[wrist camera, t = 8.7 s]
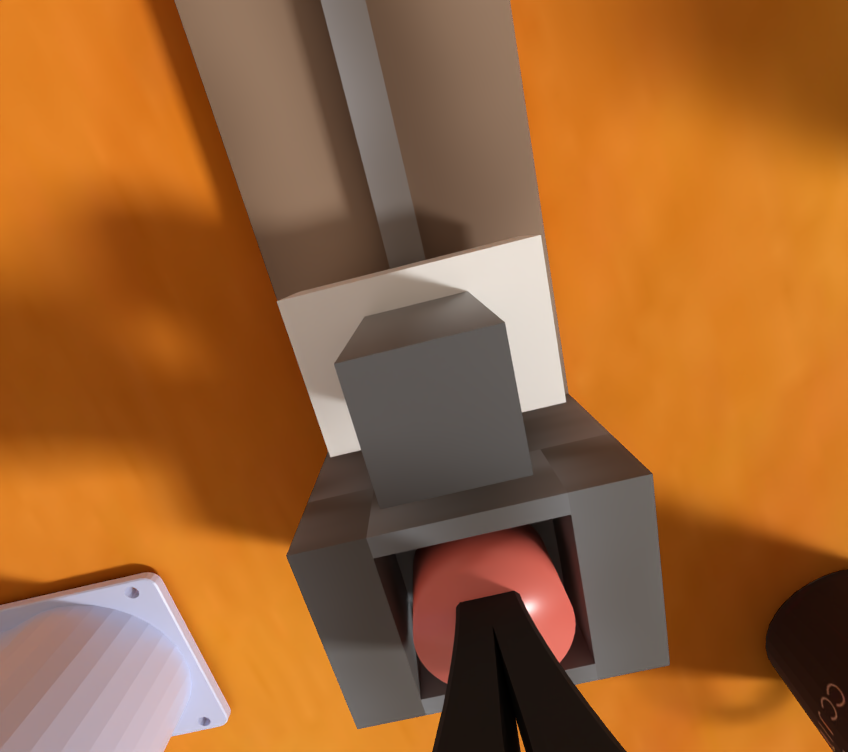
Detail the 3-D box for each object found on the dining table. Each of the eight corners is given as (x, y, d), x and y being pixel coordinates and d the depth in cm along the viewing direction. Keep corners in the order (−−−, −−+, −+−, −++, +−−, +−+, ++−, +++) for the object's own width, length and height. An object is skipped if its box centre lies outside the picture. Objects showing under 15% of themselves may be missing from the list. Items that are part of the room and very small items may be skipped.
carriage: (342, 425, 13) (285, 575, 7) (299, 292, 11) (186, 339, 6) (542, 377, 12) (655, 493, 7) (518, 236, 11) (631, 227, 5)
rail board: (366, 563, 17) (343, 731, 11) (148, -69, 11) (-150, -425, 5) (579, 516, 16) (669, 665, 11) (473, -164, 10) (549, -665, 5)
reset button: (430, 632, 12) (434, 706, 10) (397, 526, 11) (394, 586, 9) (556, 605, 12) (585, 674, 10) (536, 494, 11) (563, 549, 9)
